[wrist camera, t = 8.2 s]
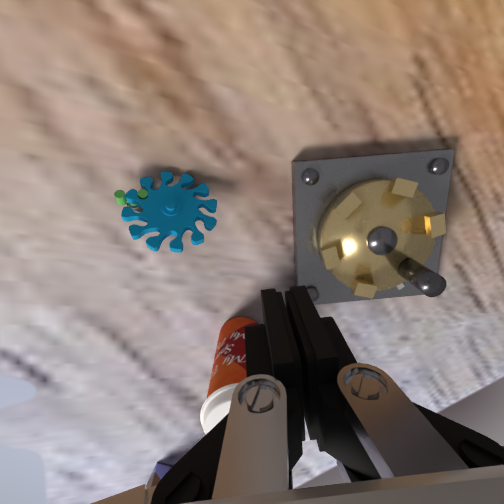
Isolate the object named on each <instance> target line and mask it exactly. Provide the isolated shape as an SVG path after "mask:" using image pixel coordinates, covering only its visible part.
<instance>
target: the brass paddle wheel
mask: <svg viewBox="0 0 504 504" xmlns="http://www.w3.org/2000/svg"><path fill="white" fill-rule="evenodd" d="M417 185H418V183H417V182H413V181H409V180H405V179H401V178H396V177H392V179H391V180H387V179H372V180H366V181H362V182H360V183H357V184H355V185H353V186H351V187H349V188H347V189H346V190H345V191H343V192H342V193H341V194H339V195H338V196H337V197H336V198H335V199H334V200H333V201H332V203H331V204H330V205H329V207H328V208H327V210H326V211H325V213H324V215H323V217H322V220H321V223H320V227H319V232H318V246H319V251H320V254H321V257H322V260H323V264H324V267H325V269H326V270H328V269H329V270H330V271H331V272H332V274H333V275H334V276H335V277H336V278H337V279H338V280H339V281H341V282H342V283H343V284H345V285H347V286H348V287H351V288H352V289H351V292H352V293H353V295H357V296H362V297H368V298H373V297H374V294H375V292H376V291H382V290H386V289H390V288H393V287H395V286H397V285H399V284H402V283H403V282H405V281H406V280H407V281H408V282H409V283H411V284H412V285H413V286H415V287H416V288H417V289H418V290H420V291H421V292H422V293H424V294H425V295H426V296H428V297H436V296H438V295H440V294H441V293H442V292H443V291H444V290H445V288H446V280H445V279H444V278H443V277H442V276H440V275H438V274H437V273H435V272H433V271H432V270H430V269H429V268H427V267H425V266H424V264H425V262H426V261H427V259H428V258H429V256H430V254H431V252H432V249H433V247H434V244H435V240H436V237H437V236H440V235H444V234H446V224H445V213H442V212H439V211H438V212H434V209H433V207H432V205H431V203H430V202H429V200H428V199H427V197H426V196H425V195H424V194H423V193H422V192H421V191H419V190H418V189H416V188H417Z"/></svg>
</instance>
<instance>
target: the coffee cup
mask: <svg viewBox="0 0 504 504" xmlns="http://www.w3.org/2000/svg"><path fill="white" fill-rule="evenodd" d="M252 325H258V324H257V323H256V322H255V321H254V320H252V319H250V318H247V317H235V318H232V319H230V320H228V321H227V322H226V323H225V324H224V325H223V327H222V328H221V331H220V334H219V339H218V343H217V348H216V353H215V358H214V363H213V369H212V374H211V379H210V384H209V389H208V394H207V399H206V400H205V402H204V404H203V406H202V409H201V413H200V420H201V424H202V427H203V429H204V433H205V435H206V434H207V433H208V432H209V431H210V430H211V429H212V428H214V427H215V426H216V425H217V424H218V423H219V422H220V421H221V420H222V419H223V418H224V417H225V416H226V415H227V414H228V413H229V409H230V404H231V399H232V394H233V392H234V389H235V387H236V386H237V385H238V384H239V382H241V381H242V380H244V379H245V378H247V375H246V352H245V328H244V327H245V326H252Z"/></svg>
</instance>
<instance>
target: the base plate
mask: <svg viewBox="0 0 504 504" xmlns="http://www.w3.org/2000/svg"><path fill="white" fill-rule="evenodd" d="M454 151H455V149H441V150H428V151H416V152H404V153H392V154H379V155H367V156H355V157H343V158H330V159H318V160H306V161H294V162H291V164H292V197H293V230H294V262H295V286H302V285H305V287H306V289H307V291H308V293H309V295H310V297H311V299H312V301H313V304H314V305H315V304H326V303H337V302H348V301H359V300H370V299H381V298H392V297H403V296H414V295H425V294H424V293H422V292H421V291H420V290H418V289H417V288H416V287H415V286H413V285H412V284H411V283H409V282H408V281H407V280H406V281H405V282H403V283H402V284H399V285H397V286H395V287H393V288H390V289H386V290H382V291H376V292H375V294H374V297H373V298H368V297H362V296H357V295H353V293H352V292H351V289H352V288H351V287H348V286H347V285H345V284H343V283H342V282H341V281H339V280H338V279H337V278H336V277H335V276H334V275H333V274H332V272H331V271H330V270H329V269H328V270H326V269H325V267H324V264H323V260H322V257H321V254H320V251H319V246H318V232H319V227H320V223H321V220H322V217H323V215H324V213H325V211H326V210H327V208H328V207H329V205H330V204H331V203H332V201H333V200H334V199H335V198H336V197H337V196H338V195H339V194H341V193H342V192H343V191H345V190H346V189H347V188H349V187H351V186H353V185H355V184H357V183H360V182H362V181H366V180H372V179H387V180H391V179H392V177H396V178H401V179H405V180H409V181H413V182H417V183H418V185H417V188H416V189H418V190H419V191H421V192H422V193H423V194H424V195H425V196H426V197H427V199H428V200H429V202H430V203H431V205H432V207H433V209H434V212H438V211H439V212H442V213H445V214H446V207H447V200H448V193H449V186H450V179H451V172H452V165H453V158H454ZM441 242H442V235H440V236H437V237H436V240H435V244H434V247H433V249H432V252H431V254H430V256H429V258H428V259H427V261H426V262H425V264H424V266H425V267H427V268H429V269H430V270H432V271H433V272H435V273H437V270H438V263H439V256H440V249H441Z"/></svg>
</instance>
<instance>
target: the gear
mask: <svg viewBox="0 0 504 504" xmlns="http://www.w3.org/2000/svg"><path fill="white" fill-rule="evenodd" d="M161 180H162V184H161V186H160V187H159V189H157V190H152V187H153V181H152V178H151V177H145V178H142V179H140V183H141V187H142V188H143V189H144V190H140V191H139V192H137V191H136V190H135V189H131V190H130V191H128V192H127V193H126V194H125V193H124V191H122V190H117V191H116V192H115V193H114V195H115V198H116V200H117V203H118V204H119V205H125V204H127V207H124V208H123V210H122V215H121V216H122V219H123V220H124V221H127V222H128V221H133V220H141V221H144V222H147V223H148V224H147V225H146V226H139V225H131V226H129V231H130V234H131V236H132V238H133V239H134V240H136V239H139V238H140V237H141V236H143V235H144V234H146V233H149V232H156V231H157V232H160V234H159V235H158V236H154V237H149V238H148V239H147V240H146V244H147V246H148V247H149V248H150V249H151V250H153V251H158V250H159V248H160V245H161V243H162V241H163V240H164V239H165V238H166V237H168V236H169V235H173V236H177V237H176V238H175V239H174V240H172V241H171V242H170V250H171V251H172V252H182V251H183V243H182V236H183V234H184V232H185V231H186V230H191V231H192V232H193V233H192V236H191V241H192V244H193V245H198V244H201V243H203V242H204V235H203V234H202V233H201V232H200V231H199V230H198V229H197V227H196V225H195V222H196V221H197V220H201V221H203V222H204V226H205V228H206V229H207V230H208V231H211V230H212V229H213V228H214V227H215V225H216V222H217V220H216V219H215V218H214V217H210V216H207V215H204V214H203V213H202V212H201V211H200V210H199V208H201V207H203V208H205V209H206V210H207V211H208V212H210V213H215V212H216V207H217V200H215V199H210V200H199V199H196V198H194V196H196V195H198V196H201V197H207V196H209V189H208V187H207V185H206V184H204V183H203V184H200V185H199V186H198V187H196V188H194V189H189V190H184V189H182V188H183V187H189V186H192V185H193V177H192V176H190V175H189V174H187V173H185V174H183V175H182V178H181V180H180V181H179V182H178V183H177V184H176V185H174V186H172V187H169V186H167V185H168V184H170V183H172V181H173V174H172V173H171V172H164V171H162V172H161Z"/></svg>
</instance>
